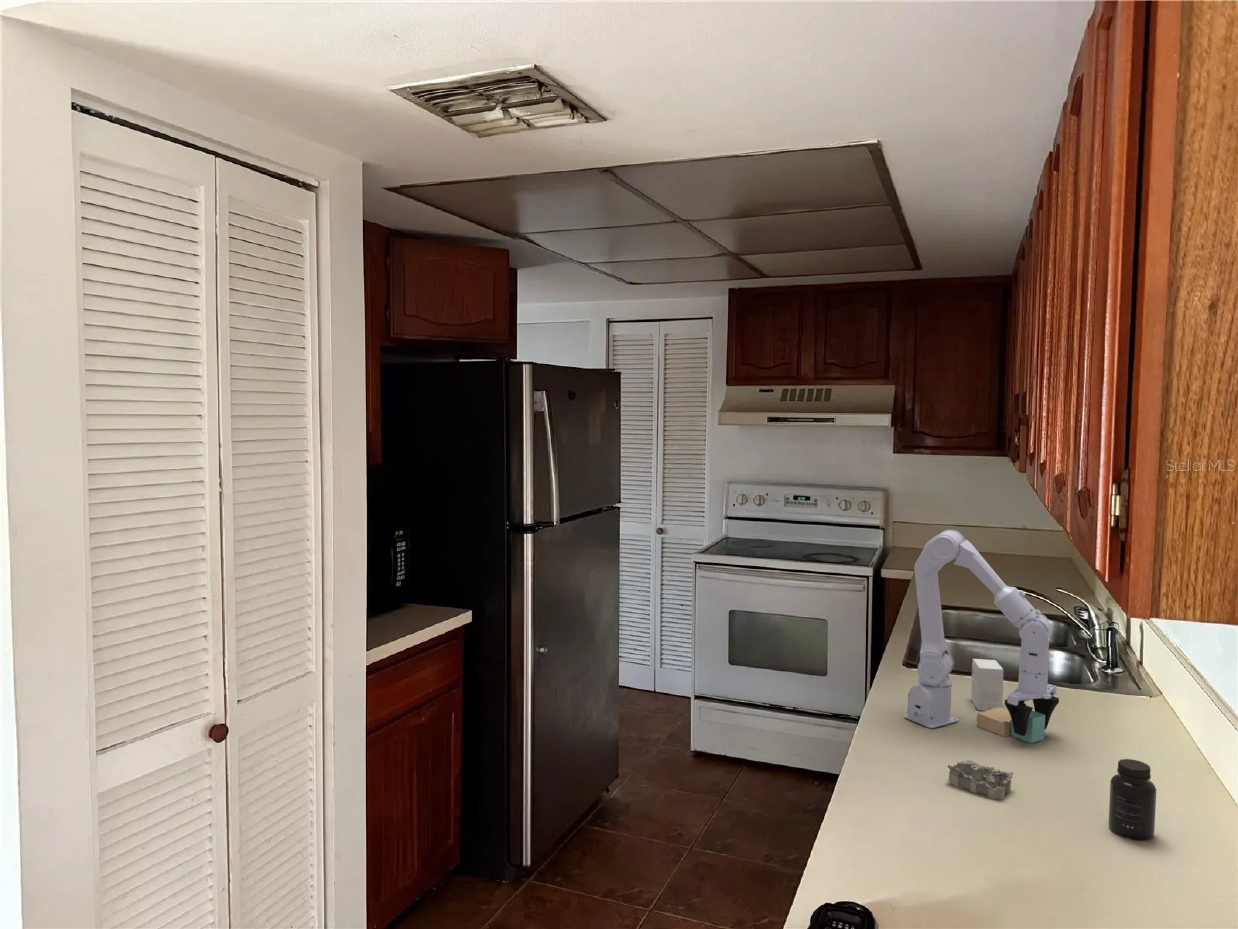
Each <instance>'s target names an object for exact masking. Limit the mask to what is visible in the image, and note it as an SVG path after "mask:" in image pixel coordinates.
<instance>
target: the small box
mask: <svg viewBox="0 0 1238 929" xmlns="http://www.w3.org/2000/svg"><path fill="white" fill-rule="evenodd" d="M971 664H972V666H971V691H970V692H971V693H970V700H971V701H972V703H973V705H974V706H975V708H976V709H977V711H981V712H984V711H988V710H991V709H995V708H999V707H1000V708H1003V697H1004V696H1003V693H1004V672H1005V671H1004V668H1003V667H1002V666H1001V664H999V662H998V661H997V660H995V659H984V658H983V659H982V658H972V663H971Z"/></svg>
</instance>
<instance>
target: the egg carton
mask: <svg viewBox="0 0 1238 929" xmlns="http://www.w3.org/2000/svg"><path fill="white" fill-rule="evenodd" d="M947 768H948V769H949V771H948V772H949V774H948V783H949V782H950V784H951V783H952V784H953V785H952V784H951V785H952V787H954V786H955V788H957V787H958V788H965V787H966V788H965V789H968V790H969V792H970V791H972V792H971V793H975V794H978V793H980V794H984V795H987V796H988V797H987V798H989V799H991V800H992V799H993V800H995V799H999V800H1004V799H1005V794H1010V793H1011V792H1012V790H1011V787H1012V785H1011V784H1012V780H1013V775H1014V772H1011V771H1010V772H1006V771H1001V770H1000V769H997V770H996V768H994V767H992V766H991V767H988V766H986V765H981V764H979V763H977V762H975V761H974V760H970V759H966V760H961V761H959V762H957V763H956V764H954V765H950V764H948V765H947Z"/></svg>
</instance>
